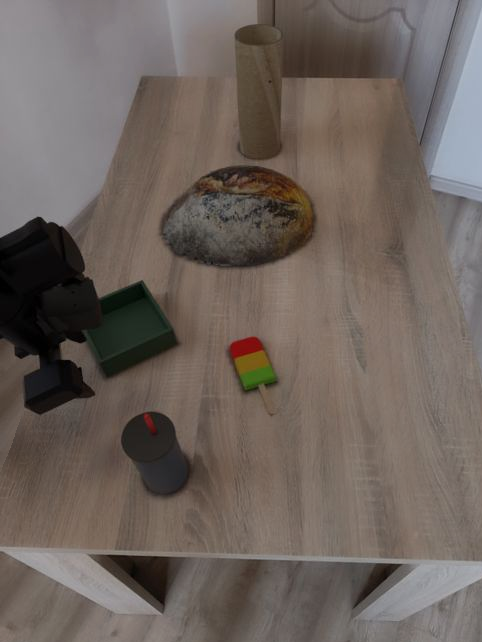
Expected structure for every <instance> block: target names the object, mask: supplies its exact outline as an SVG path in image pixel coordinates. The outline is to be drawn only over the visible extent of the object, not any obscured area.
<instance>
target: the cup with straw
mask: <svg viewBox="0 0 482 642" xmlns="http://www.w3.org/2000/svg"><path fill="white" fill-rule="evenodd" d="M120 444H121V447H122V450H123V452H124V453H125V455H126V456H127V457H128V458H129V459H130V460H131V462H132V463H133V465H134V466H135V469H137V471H138V473H139V475H140V476H141V477H142V479H143V481H144V483H145V484H146V486H147V487H148V488H149V489H150V490H151V491H152V492H154V493H156V494H159V495H169V494H172V493H174V492H176V491H178V490H179V489H180V488H182V486H183V485H184V484H185V482H186V480H187V478H188V473H189V469H188V464H187V462H186V458H185V456H184V453H183V450H182V448H181V446H180V442H179V440H178V437H177V430H176V427H175V423H174V422H173V421H172V420H171V418H169V417H168V416H167V415H166V414H164V413H163V412H159V411H145V412H141V413H139V414H136V415H135V416H133V417H132V418H131V419H130V420H128V421H127V423H126V425H125V426H124V427H123V430H122V432H121V436H120Z"/></svg>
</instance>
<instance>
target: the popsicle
mask: <svg viewBox="0 0 482 642" xmlns="http://www.w3.org/2000/svg"><path fill="white" fill-rule="evenodd" d="M263 346H264V345H263V344H262V341H261V340H260V338H259V337H257V336H249V337H245V338H241V339H239V340H236V341H233V342H232V343H230V345H229V352H230V355H231V358H232V361H233V363H234V366H235V368H236V371H237V373H238V376H239V379H240V381H241V384H242V386H243V389H244V390H245V391H249V390H252V389H255V388H258V389H259V391H260V394H261V397H262V399H263V401H264V405H265V406H266V409H267V411H268V414H269V415H274V414H276V410H275V407H274V405H273V402H272V400H271V398H270V395H269V392H268V390H267V388H266V385H268V384H272V383H275V382H277V376H276V374H275V372H274V369H273V367H272V364H271V363H270V360H269V357H268V356H267V353H266V351H265V349H264V347H263Z"/></svg>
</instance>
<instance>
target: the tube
mask: <svg viewBox="0 0 482 642" xmlns="http://www.w3.org/2000/svg"><path fill="white" fill-rule="evenodd" d="M283 47H284V33H283V31H282V30H281V29H280V28H279V27H276V26H274V25H270V24H265V23H264V24H263V23H255V24H248V25H244V26H242V27H239V28H238V29H237V30H236V31H235V32H234V53H235V71H236V72H235V73H236V74H235V75H236V76H235V77H236V94H237V96H236V97H237V116H238V117H237V118H238V137H239V140H238V141H239V150H240V153H242V154H243V156H245V157H248V158H250V159H256V160H265V159H269V158H271V157H274V156H275V155H277V154H278V153H279V151H280V149H281V129H282V127H281V123H282V93H283V92H282V91H283V89H282V88H283V55H284V48H283Z"/></svg>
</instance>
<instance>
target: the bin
mask: <svg viewBox="0 0 482 642" xmlns="http://www.w3.org/2000/svg"><path fill="white" fill-rule="evenodd" d="M98 298H99V301H100V306H101V311H102V316H103V324H102V326H100V327H99V328H96V329H86V330H82V332H83V334H84V335H85V337H86V341H87V342H88V343H89V346H90V349H91V350H92V352H93V354H94V356H95V358H96V360H97V362H98V364H99V366H100V368H101V369H102V372H103V373H104V375H105V377H106V378H109V377H111V376H113V375H116V374H117V373H119V372H122V371H124V370H126V369H128V368H130V367H133V366H134V365H136V364H139V363H141V362H143V361H145V360H147V359H150V358H151V357H153V356H155V355H158V354H160V353H162V352H164V351H166V350H169V349H170V348H172V347H174V346H176V345H178V341H177V336H176V333H175V330H174V328H173V326H172V324H171V323H170V321H169V319H168V318H167V316H166V315H165V313H164V312H163V310H162V308H161V307H160V305H159V303H158V302H157V300H156V299H155V296H154V295H153V294H152V292H151V291H150V289H149V288H148V286H147V284H146V283H145V281H144V279H141V280H139V281H136V282H134V283H131V284H129V285H127V286H124V287H122V288H120V289H117V290H114V291H113V292H110V293H108V294H105V295H103V296H101V297H98Z"/></svg>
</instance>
